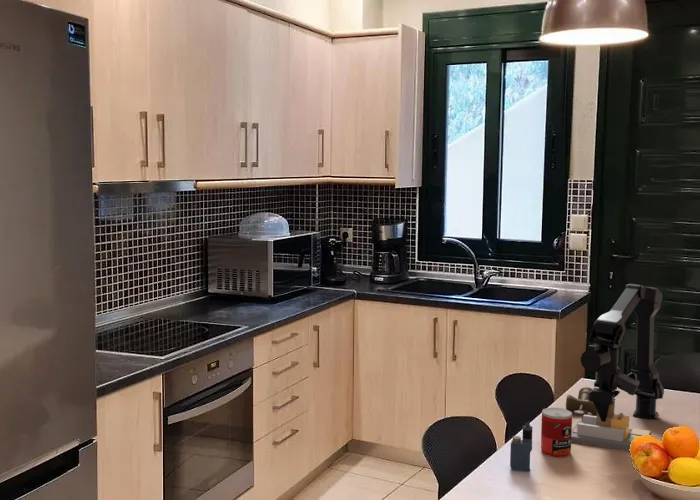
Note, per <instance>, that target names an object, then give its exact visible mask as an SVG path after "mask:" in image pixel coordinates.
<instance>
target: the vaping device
mask: <svg viewBox="0 0 700 500" xmlns="http://www.w3.org/2000/svg"><path fill="white" fill-rule="evenodd" d="M532 451H533V426H532V425H531V424H530V422H525V425H522V437H521V436H518V435H514V436H512V440H511V442H510V453H509V454H510V455H509V456H510V457H509V458H510V459H509V466H510V469H511V471H513V472H515V471H516V472H517V471H518V472H530V471H531V469H530V468H531V452H532Z"/></svg>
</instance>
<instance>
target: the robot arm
mask: <svg viewBox="0 0 700 500" xmlns="http://www.w3.org/2000/svg"><path fill="white" fill-rule="evenodd" d="M659 289H660V288H658V287H651V286H645V285H644V286H643V285H642V284H635V283H628V284H626V285H625V286H624V289H623V292H622V293H621V295H620V296H619V298H618V299H617V300H616V302H615V304H614V305H613V306H612V308H611V309H610V310H609V311H607V312H605V313H603V314H601V315H599V317H598V318H597V319H596V320H595V321H594V323H593V324H592V327H591V331H590V333H589V337H588V339H587V350H585V351H584V352H582V354H581V356H580V363H581V365H582V367H583V368H584V369H585V370H586V371H588V372H594V373H595V381H594V383H593V387H594V388H591V389H592V390H591V391H590V393H589V396H588V400H589V401H592V402H593V403H594V405H595V407H596V409H597V412H598V414H599V417H600V419H601V421H602V422H605V421H606V418H607V414H608V409H609V405H610V404H612V403H613V402H614V401H615V402H616V398H617V396H619V395H620V393H621V391H623V392H625V393H627V394H628V395H630V396H634V395H635V397H636V398H635V400H636V401H635V410H634V412H633V414H632V416H633V417H638V418H644V419H651V420H657V417H658V415H659V411H657V400H659V399H660V400H662V399H663V398H664V394H665V389H664V387H663V384H662V382H661V380H660V372H659V369H657V367H656V365H655V364H654V346H655V345H654V344H655V343H654V342H655V339H654V338H655V316H656V314H657V313H658V311H659V310H660V308H661V305H662V301H663V293H662V292H661V290H659ZM632 312H633V313H635V315H636V353H635V354H636V358H635V361H636V362H635V365H634V366H633V367H632V368H631V369H630V371H629V373H628V374H626V373H625V374H624V373H621V368H620V367H619V350H620V349H619V348H620V347H621V346H622V344H621V342H622V340H623V338H624V335H625V333H626V327H625V324H626V321H627V320H628V318H629V317H630V315H631V314H632ZM618 389H619V390H621V391H619V390H618Z"/></svg>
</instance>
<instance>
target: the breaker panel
mask: <svg viewBox="0 0 700 500" xmlns="http://www.w3.org/2000/svg"><path fill="white" fill-rule="evenodd" d="M596 418H597V416H594V415H592V414H583V417H582V419H583V420H582V421H580V420H578V421H577V423H576V424H575V425H574V426H573V427H572V434H571V443H577V444H582V445H589V446H595V447H601V448H606V449H607V448H609V449H614V450H620V451H626V452H627V451H628V452H630V451H629V449H630V444H631V441H632V440H633V439H634V438H635V437H637V436H642V435H651V436H652V432H651V430H647V429H646V430H645V429H639V428H629V434H628V436H627V438H626V439H623V432H624V429H617V428H610V427H603V426H597V425H596Z"/></svg>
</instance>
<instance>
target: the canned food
mask: <svg viewBox="0 0 700 500" xmlns="http://www.w3.org/2000/svg"><path fill="white" fill-rule="evenodd" d="M540 429H541V432H540V434H541V435H540V449H541V452H542V454H544V455H546V456H547V457H548V456H549V457H552V458H567V457H569V456H570V455H571V452H572V442H571V434H572V430H573V412H570V411H568V410H566V408H561V407H546V408H543V409H542V410H541V428H540Z"/></svg>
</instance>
